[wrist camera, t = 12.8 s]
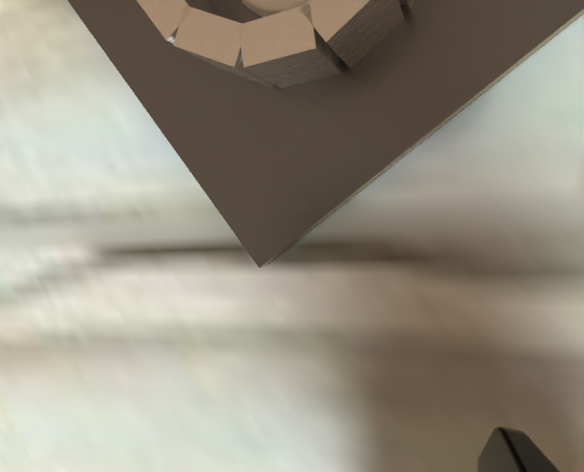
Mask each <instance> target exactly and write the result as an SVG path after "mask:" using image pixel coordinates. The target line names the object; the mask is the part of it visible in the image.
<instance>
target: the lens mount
mask: <svg viewBox="0 0 584 472" xmlns="http://www.w3.org/2000/svg"><path fill="white" fill-rule="evenodd" d="M68 1H69V3H70V4H71V6H72V7H73V8H74V10H75V11H76V13H77V14H78V15H79V17H80V18H81V20H82V21H83V22H84V24H85V25H86V27H87V28H88V29H89V31H90V32H91V34H92V35H93V36H94V38H95V39H96V41H97V42H98V43H99V45H100V46H101V48H102V49H103V50H104V52H105V53H106V54H107V56H108V57H109V59H110V60H111V61H112V63H113V64H114V66H115V67H116V68H117V70H118V71H119V73H120V74H121V75H122V77H123V78H124V80H125V81H126V82H127V84H128V85H129V87H130V88H131V89H132V91H133V92H134V94H135V95H136V96H137V98H138V99H139V101H140V102H141V103H142V105H143V106H144V108H145V109H146V110H147V112H148V113H149V114H150V116H151V117H152V119H153V120H154V121H155V123H156V124H157V126H158V127H159V128H160V130H161V131H162V133H163V134H164V135H165V137H166V138H167V140H168V141H169V142H170V144H171V145H172V147H173V148H174V149H175V151H176V152H177V154H178V155H179V156H180V158H181V159H182V161H183V162H184V163H185V165H186V166H187V167H188V169H189V170H190V172H191V173H192V174H193V176H194V177H195V179H196V180H197V181H198V183H199V184H200V186H201V187H202V188H203V190H204V191H205V193H206V194H207V195H208V197H209V198H210V200H211V201H212V202H213V204H214V205H215V207H216V208H217V209H218V211H219V212H220V214H221V215H222V216H223V218H224V219H225V221H226V222H227V223H228V225H229V226H230V227H231V229H232V230H233V232H234V233H235V234H236V236H237V237H238V239H239V240H240V241H241V243H242V244H243V246H244V247H245V248H246V250H247V251H248V253H249V254H250V255H251V257H252V258H253V260H254V261H255V262H256V264H257V265H258V267H259V268H260V267H262V266H265V265H267V264H269V263H271V262H272V261H273V260H275V259H276V258H277V257H278V256H280V255H281V254H282V253H283V252H285V251H286V250H287V249H288V248H290V247H291V246H292V245H293V244H295V243H296V242H297V241H298V240H300V239H301V238H302V237H303V236H305V235H306V234H307V233H309V232H310V231H311V230H312V229H314V228H315V227H316V226H317V225H319V224H320V223H321V222H322V221H324V220H325V219H326V218H327V217H329V216H330V215H331V214H332V213H334V212H335V211H336V210H337V209H339V208H340V207H341V206H343V205H344V204H345V203H346V202H348V201H349V200H350V199H351V198H353V197H354V196H355V195H356V194H358V193H359V192H360V191H361V190H363V189H364V188H365V187H366V186H368V185H369V184H370V183H371V182H373V181H374V180H375V179H377V178H378V177H379V176H380V175H382V174H383V173H384V172H385V171H387V170H388V169H389V168H390V167H392V166H393V165H394V164H395V163H397V162H398V161H399V160H400V159H402V158H403V157H404V156H405V155H407V154H408V153H409V152H411V151H412V150H413V149H414V148H416V147H417V146H418V145H419V144H421V143H422V142H423V141H424V140H426V139H427V138H428V137H429V136H431V135H432V134H433V133H434V132H436V131H437V130H438V129H439V128H441V127H442V126H443V125H445V124H446V123H447V122H448V121H450V120H451V119H452V118H453V117H455V116H456V115H457V114H458V113H460V112H461V111H462V110H463V109H465V108H466V107H467V106H468V105H470V104H471V103H472V102H473V101H475V100H476V99H477V98H479V97H480V96H481V95H482V94H484V93H485V92H486V91H487V90H489V89H490V88H491V87H492V86H494V85H495V84H496V83H497V82H499V81H500V80H501V79H502V78H504V77H505V76H506V75H507V74H509V73H510V72H511V71H513V70H514V69H515V68H516V67H518V66H519V65H520V64H521V63H523V62H524V61H525V60H526V59H528V58H529V57H530V56H531V55H533V54H534V53H535V52H536V51H538V50H539V49H540V48H541V47H543V46H544V45H545V44H547V43H548V42H549V41H550V40H552V39H553V38H554V37H555V36H557V35H558V34H559V33H560V32H562V31H563V30H564V29H565V28H567V27H568V26H569V25H570V24H572V23H573V22H574V21H575V20H577V19H578V18H579V17H580V16H582V15H583V14H584V0H309V1H308V2H307V3H306V4H305V5H303V6H299V7H296V8H293V9H289V10H286V11H283V12H280V13H276V14H273V15H270V16H266V17H262V16H260V15H258V14H256V13H255V12H253V11H252V10H250V9H249V8H248V7H247V6H246V5H245V4H244V3H243V2H242V1H241V0H68Z"/></svg>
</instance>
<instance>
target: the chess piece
mask: <svg viewBox="0 0 584 472" xmlns="http://www.w3.org/2000/svg"><path fill="white" fill-rule="evenodd" d="M241 1H242V2H243V3H244V4H245V5H246V6H247V7H248V8H249V9H250V10H252V11H253V12H255V13H256V14H258V15H260V16H262V17H266V16H270V15H273V14H276V13H280V12H283V11H286V10H289V9H293V8H296V7H299V6H303V5H305V4H306V3H307V2H308V1H309V0H241Z"/></svg>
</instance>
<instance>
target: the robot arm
mask: <svg viewBox="0 0 584 472" xmlns="http://www.w3.org/2000/svg"><path fill="white" fill-rule="evenodd" d="M478 472H560V471H559V470H558V469H557V468H556V467H555V466H554V465H553V463H552V462H551V461H550V460H549V459H548V458H547V457H546V456H545V455H544V454H543V452H542V451H541V450H540V449H539V448H538V447H537V446H536V445H535V444H534V442H533V441H532V440H531V439H530V438H529V437H528V436H527V435H526V434H525V433H524V432H522V431H520V430H515V429H510V428H505V427H497V428H496V429H494V431H493V432H492V434H491V436H490V438H489V440H488V442H487V443H486V445H485V447H484V449H483V451H482V453H481V455H480V457H479V460H478Z"/></svg>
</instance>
